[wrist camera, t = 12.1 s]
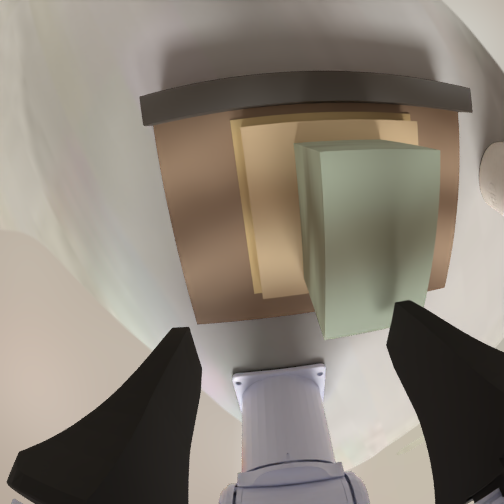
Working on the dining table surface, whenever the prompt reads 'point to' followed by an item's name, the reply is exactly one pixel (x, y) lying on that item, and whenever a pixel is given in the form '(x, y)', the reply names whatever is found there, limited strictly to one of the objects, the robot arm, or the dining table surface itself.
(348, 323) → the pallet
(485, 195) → the dixie cup
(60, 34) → the dining table surface
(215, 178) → the dock
